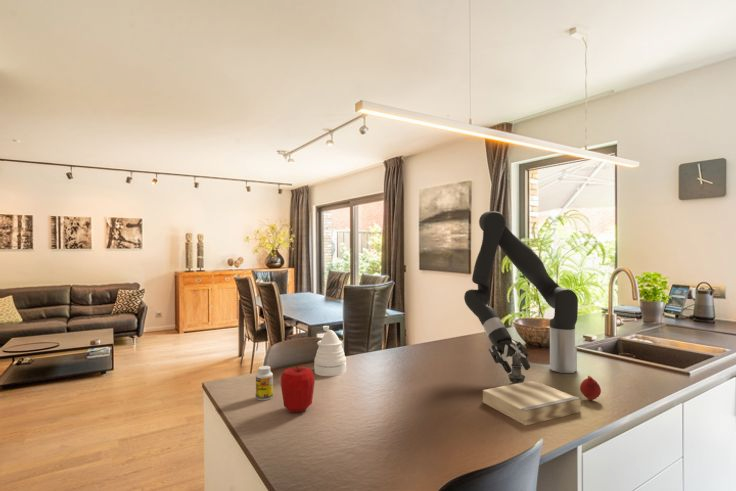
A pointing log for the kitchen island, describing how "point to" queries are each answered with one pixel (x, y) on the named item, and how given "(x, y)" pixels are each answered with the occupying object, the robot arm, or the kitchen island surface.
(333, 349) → the honey pot
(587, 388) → the onion
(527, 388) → the platform
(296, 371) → the apple
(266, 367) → the supplement bottle
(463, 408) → the kitchen island surface
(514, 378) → the dark grey chess piece
